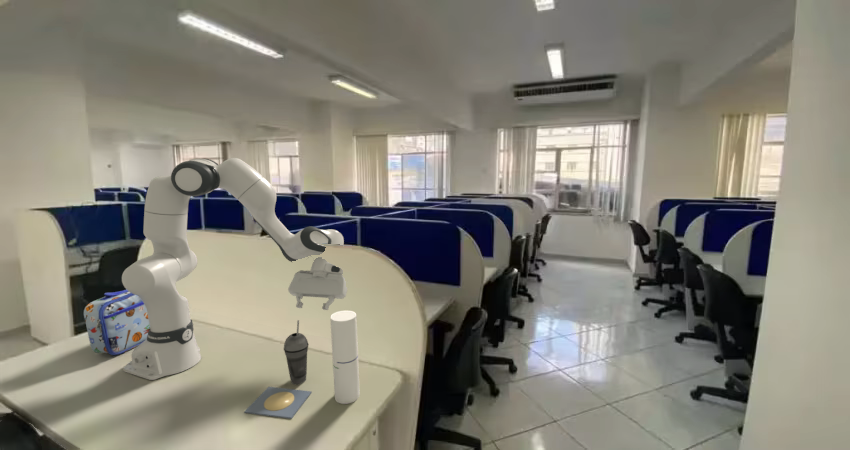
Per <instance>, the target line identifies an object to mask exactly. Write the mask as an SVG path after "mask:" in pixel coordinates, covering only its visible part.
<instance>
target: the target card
mask: <svg viewBox="0 0 850 450" xmlns="http://www.w3.org/2000/svg"><path fill="white" fill-rule="evenodd" d="M312 393H313V392H312V390H303V389H293V388H283V387H276V386H268V387H266V388H265V390H263V392H262V393H261V394H260V395H259V396H258V397H256V399H255V400H254V401H253V402H252V403H251V404H250V405H249V406H248V407H247V408H246V409H245V410H244V414H252V415H259V416H265V417H275V418H280V419H281V418H283V419H289V420H290V419H291V420H293V418H294V416H296V415H297V413H298V411H299V410H300V409H301V407H302V406H303V405H304V404H305V403H306V401H307V400H308V399H309V398H310V396H311V394H312Z"/></svg>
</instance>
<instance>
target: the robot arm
mask: <svg viewBox="0 0 850 450" xmlns="http://www.w3.org/2000/svg"><path fill="white" fill-rule="evenodd" d="M216 189H223V190H225V191H227V193H229V194H231V195H232V196H233V197H234V198H235V199H236V200H237V201H239V202H240V203H241V204H242V206H244V207H245V208H246V210H247V211H248V212H249V213H250V215H251V216H252V219H253V220H254V221H255V222H256V224H257V225H258V226H259V227H260V228H261V229H262V230H263V231H264V232H265V233H266V234H267V235H268V236H269V238H270V239H272V241H273V242H274V243H275V244H276V245H277V247H279V249H280V251H281V253H282V255H283V257H284V259H286V260H288V262H291V263H293V262H292V261H296V260H298V259H302V258H305V257H308V256H310V257H312V256H311V255H320V254H322V253H323V252H324V251H325V248H326V247H325V246H324V245H321V244H322V243H327V244H340V245H343V246H344V243H345V242H344V241H345V240H344V239H345V238H344V236H343V234H342V233H341V232H339V231H338V230H336V229H332V228H331V229H329V228H328V229H320V228H317V227H316V226H312V225H311V226H310V225H309V226H306V227H304V228H302V229H301V230H299V231H298V232H297V233H295V234H294V233H291V231H289V229H287V227H286V226H285V225H284V224H283V223H282V221H280V219H278V217H277V215H276V212H275V210H276V209H275V208H276V204H277V203H276V202H277V197H278V196H277V191H276V189H275V188H274V187H273V185H272V183H271V182H270V181H268V180H267V179H266V177H264V176H263V175H262V174H261V173H260V172H259V171H258V170H256V169H255V167H253V166H251V165H250V164H248V163H247V162H245V161H244V160H242V159H241V158H238V157H231V158H228V159H226V160H224V161H222V162H221V163H220V164H219V163H217V162H216V161H214V160H212V159H209V158H192V159H189V160H184V161H182V162H180V163H178V164H177V165H176V166H174V168H173V169H172V172H171V175H160V176H157V177H154V178H153V179H151V181H150V182H149V184H148V188H147V192H146V194H145V201H144V212H143V213H144V214H143V215H144V216H143V235H144V236H145V238H146V239H147V240H150V242H151V244H152V247H153V253H152V255H148V256H146V257H144V258H140V259H138V260H136V261H135V262H134V263H133V262H132V264H131V265H129V266H128V267H127V268H125V269H124V271H123V272H122V275H121V283H122V285H123V287H124V288H125V290H126V289H127V290H128V291H129V292H130V293H132V294H135V295H137V296H139V297H140V298H141V300H142V301H143V303H144V305H145V307H146V309H147V314H148V319H149V325H150V328H149V329H147V330H145V331H147V332H145V331H143V332H145V333H144V334H146V333H148V336H147V339H146V340H145V341H144V342H142V343H141V344H140V345H138V346H136V347H134V348H133V350H132V352H131V360H130V361H129V362H128V363H127V364H126V365H125V366H124V367H123V372H125V373H127V374H131V375H134V376H136V377H140V378H143V379H146V380H149V381H155V380H157V379H160V378H163V377H167V376H170V375H176V374H179V373H181V372H184V371H186V370H188V369H191V368H192V367H194V366H196V365H197V364H198V363H199V362H201V359H202V354H201V349H200V348H201V347H199V345H198V343H197V340H196V339H197V338H196V336H195V332H194V323H193V320H192V319H191V314H190V303H189V299H188V298H187V297H186V296H183V295H182V294H180V292H179V291H178V288H177V282H179V281H181V280H183V279H185V278H187V277H188V276H189V275H190V274H191V273H192V272H193V271H194V270H196V268H197V266H198V257H197V255H196V253H195V252H194V251H193V250H192V249H191V248H190V244H189V240H188V235H187V232H188V213H189V203H190V199H191V197H200V196H203V195H207V194H209V193H211V192H213V191H214V190H216ZM308 258H309V257H308ZM313 261H314V262H313ZM313 261H312V265H311V267H310V270H299V271H297V272H295V273H294V275H293V278H292V279H291V282H290V283H289V286H288V289H287V290H288V293H289V294H290V295H291V296H294V297H295V299H296V304H295V307H296V308H297V309H303V306H304V302H303V301H302V299H303V297H306V298H307V297H308V298H322V299H324V298H325V299H328V300H327V301H326V302H324V303H323V304H322V308H321V309H322V310H324V311H328V310H329V307H330V306H331V305H332V304H333V303H334V301H335V300H336V299H341V300H343V299H344V298H346V296H347V293H348V288H347V287H346V281H345V278H344V277H343V275H342V274H343V270H342V269H341V268H342V267H341V268H339V267H340V266H339V267H336V266H335V265H333V264H331V263H329V262H327V261H326V260H325V259H322V257H318V258H316V259H315V260H314V259H313Z"/></svg>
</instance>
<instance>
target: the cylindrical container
mask: <svg viewBox="0 0 850 450" xmlns="http://www.w3.org/2000/svg"><path fill="white" fill-rule="evenodd" d="M357 320H358V319H357V313H356V312H355V311H353V310H350V309H349V310H345V309H344V310H338V311H335V312H333V313H332V314H331V315H330V333H331V334H330V337H331V351H332V352H331V354H332V371H333V388H334V390H333V391H334V392H333V393H334V400H335V402H337V403H338V404H342V405H346V404H348V405H349V404H352V403H354V402H355V401H357V400H358V399H359V397H360V396H361V393H360V392H361V391H360V377H359V376H360V373H359V372H360V371H359V370H360V368H359V348H358V347H359V343H358V325H357V324H358V322H357Z"/></svg>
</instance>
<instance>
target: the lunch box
mask: <svg viewBox="0 0 850 450" xmlns="http://www.w3.org/2000/svg"><path fill="white" fill-rule="evenodd" d="M103 295H104V296H103V297H100V298H98V299H96V300H93V301H91V302H89V303H88V304H86V306H85V307H84V309H83V318H84V322H85V325H86V331H87V335H88V336H87V337H88V340H89V344H90V348H91V350H92V352H94V353H97V354H109V355H111V356H118V355H122V354H124V353H127V352H128V351H130V350H132V349H135V348H136V347H138V346H139V345H140V344H141V343H142V342H144V341H145V340H146V339H147V336H148V333H146V334H144V333H145V332H147V331H145V330H147V329H149V328H150V325H149V319H148V314H147V309H146V307H145V305H144V303H143V301H142V300H141V298H140V297H139V296H137V295H135V294H132V293H130V292H129V291H128V290H127V289H126V288H125V289H124V290H120V291H115V292H114V291H113V292H105V293H104V294H103ZM143 331H145V332H143Z"/></svg>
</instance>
